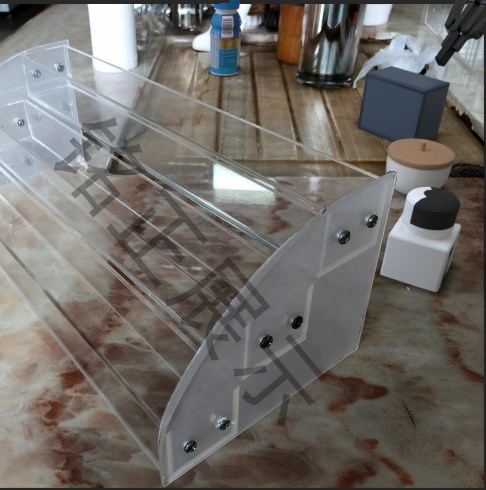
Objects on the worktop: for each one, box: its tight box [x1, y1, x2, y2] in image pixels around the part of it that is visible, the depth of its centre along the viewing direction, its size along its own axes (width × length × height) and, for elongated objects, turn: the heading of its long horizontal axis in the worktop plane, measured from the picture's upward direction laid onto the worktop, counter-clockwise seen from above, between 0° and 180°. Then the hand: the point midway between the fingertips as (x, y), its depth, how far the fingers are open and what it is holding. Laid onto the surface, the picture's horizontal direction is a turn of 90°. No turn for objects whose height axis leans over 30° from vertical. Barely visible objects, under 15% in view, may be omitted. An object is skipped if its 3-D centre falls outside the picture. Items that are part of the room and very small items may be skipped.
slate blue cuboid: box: [356, 65, 451, 143], centre depth 123 cm, size 8×14×12 cm, turn 34°
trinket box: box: [385, 139, 456, 196], centre depth 103 cm, size 11×11×9 cm
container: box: [379, 187, 462, 293], centre depth 81 cm, size 8×8×13 cm
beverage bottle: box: [209, 0, 243, 77], centre depth 158 cm, size 8×8×20 cm
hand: (439, 62), depth 124 cm, fingers closed
